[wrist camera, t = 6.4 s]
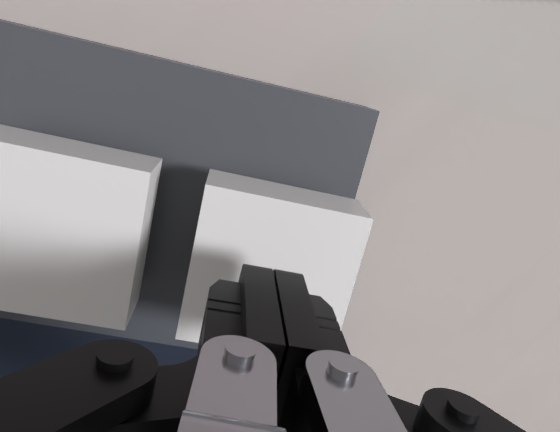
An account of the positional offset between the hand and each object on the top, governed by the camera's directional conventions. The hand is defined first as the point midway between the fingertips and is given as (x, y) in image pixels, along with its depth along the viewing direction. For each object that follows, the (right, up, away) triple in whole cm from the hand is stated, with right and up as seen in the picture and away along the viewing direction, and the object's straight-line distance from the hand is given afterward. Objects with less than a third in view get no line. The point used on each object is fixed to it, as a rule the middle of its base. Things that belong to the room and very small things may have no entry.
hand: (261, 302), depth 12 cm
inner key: (0, +1, +3) cm, 3 cm away
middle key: (-6, +2, +2) cm, 7 cm away
